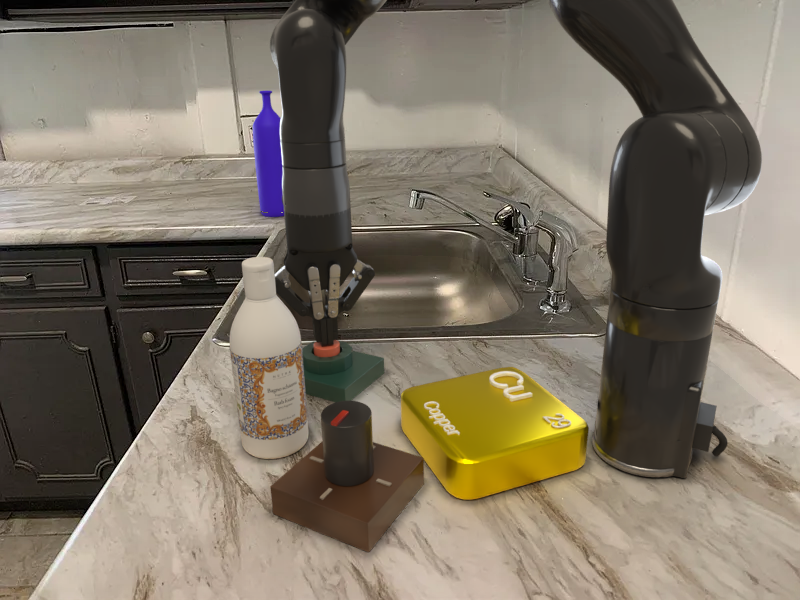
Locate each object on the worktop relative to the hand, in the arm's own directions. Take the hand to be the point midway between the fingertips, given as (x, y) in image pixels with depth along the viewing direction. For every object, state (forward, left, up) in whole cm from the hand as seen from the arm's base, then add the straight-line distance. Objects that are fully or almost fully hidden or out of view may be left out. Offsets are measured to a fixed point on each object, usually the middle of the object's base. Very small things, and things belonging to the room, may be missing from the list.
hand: (326, 343), depth 78 cm
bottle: (+63, -67, -5) cm, 92 cm away
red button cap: (0, 0, -2) cm, 2 cm away
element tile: (-23, +4, -5) cm, 24 cm away
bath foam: (-3, +14, -5) cm, 15 cm away
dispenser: (0, 0, -5) cm, 5 cm away
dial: (-15, +18, -2) cm, 24 cm away
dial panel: (-15, +18, -5) cm, 24 cm away
